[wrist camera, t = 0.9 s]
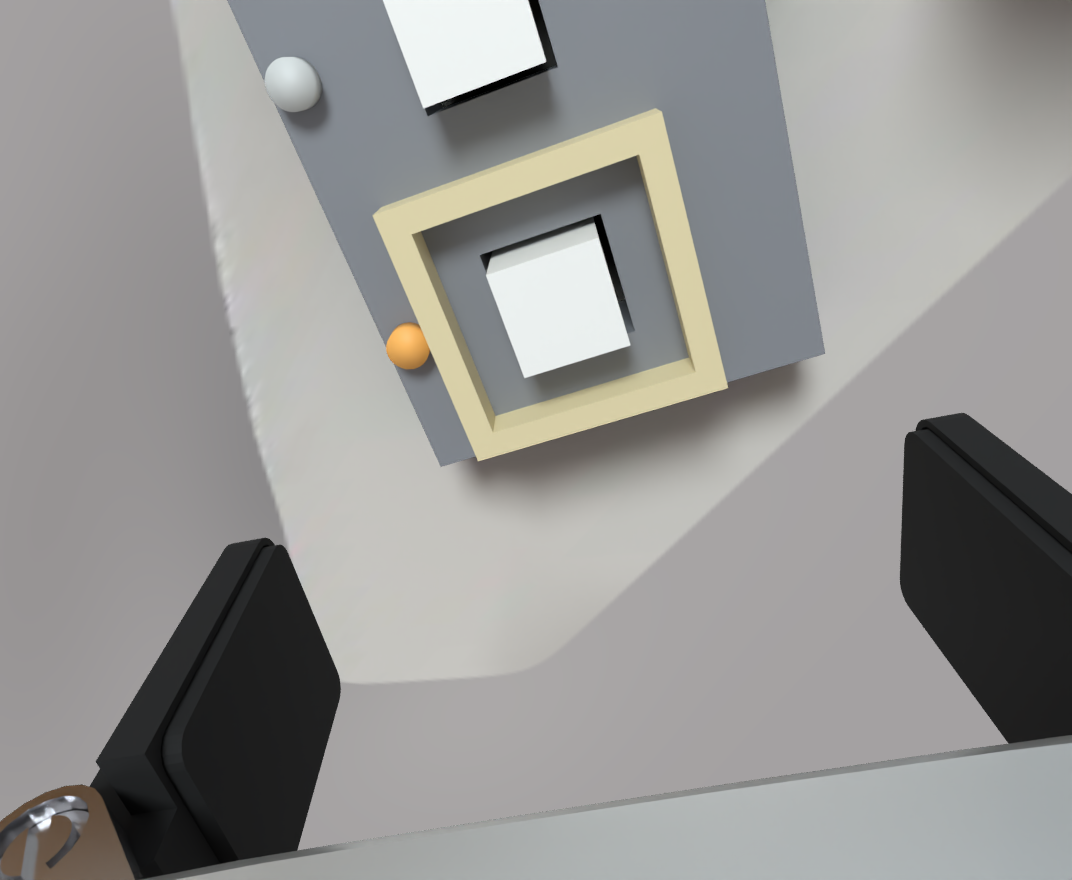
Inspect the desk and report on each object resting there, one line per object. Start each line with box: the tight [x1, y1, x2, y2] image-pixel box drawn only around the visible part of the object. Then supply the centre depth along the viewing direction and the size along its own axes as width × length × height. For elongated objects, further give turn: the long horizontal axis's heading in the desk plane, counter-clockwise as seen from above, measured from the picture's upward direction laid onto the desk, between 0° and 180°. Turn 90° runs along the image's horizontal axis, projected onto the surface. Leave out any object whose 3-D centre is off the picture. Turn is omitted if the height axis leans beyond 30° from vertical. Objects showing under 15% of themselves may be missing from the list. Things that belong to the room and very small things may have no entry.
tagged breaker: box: [486, 217, 630, 378], centre depth 28 cm, size 4×4×4 cm
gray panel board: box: [227, 0, 825, 467], centre depth 27 cm, size 16×19×6 cm
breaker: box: [383, 0, 546, 109], centre depth 24 cm, size 4×4×4 cm
